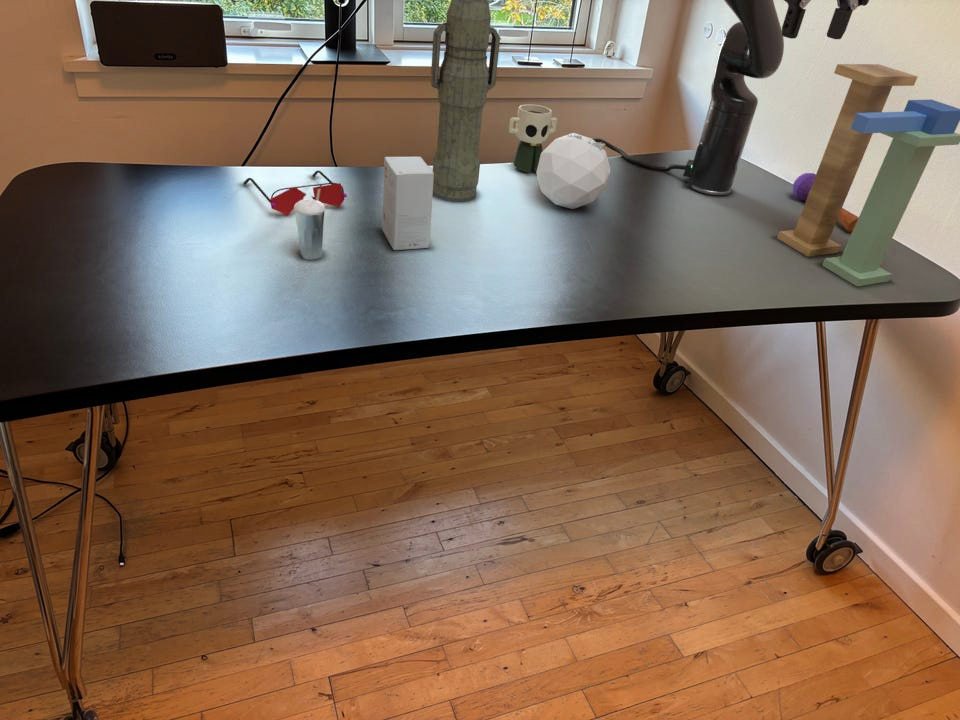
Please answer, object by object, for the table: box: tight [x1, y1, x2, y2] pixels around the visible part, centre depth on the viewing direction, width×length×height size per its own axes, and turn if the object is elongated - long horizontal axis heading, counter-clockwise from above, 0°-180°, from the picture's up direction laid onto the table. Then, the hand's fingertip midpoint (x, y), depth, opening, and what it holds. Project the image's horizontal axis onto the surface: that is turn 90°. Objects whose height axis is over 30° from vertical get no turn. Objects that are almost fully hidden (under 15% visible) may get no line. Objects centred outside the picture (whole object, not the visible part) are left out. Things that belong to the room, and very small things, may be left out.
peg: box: [850, 99, 960, 135], centre depth 109 cm, size 18×6×4 cm, turn 114°
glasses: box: [242, 170, 348, 216], centre depth 129 cm, size 14×16×5 cm
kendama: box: [792, 172, 859, 234], centre depth 150 cm, size 6×6×20 cm
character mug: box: [508, 103, 558, 173], centre depth 151 cm, size 11×7×13 cm, turn 109°
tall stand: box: [776, 63, 918, 258], centre depth 126 cm, size 10×8×32 cm
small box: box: [381, 156, 434, 251], centre depth 117 cm, size 8×6×13 cm
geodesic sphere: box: [535, 132, 612, 210], centre depth 137 cm, size 15×14×14 cm
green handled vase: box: [430, 0, 501, 203], centre depth 130 cm, size 9×12×35 cm
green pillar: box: [822, 131, 960, 288], centre depth 120 cm, size 10×8×26 cm
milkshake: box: [293, 189, 326, 261], centre depth 110 cm, size 4×5×10 cm
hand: (811, 37), depth 98 cm, fingers open, 8 cm apart
